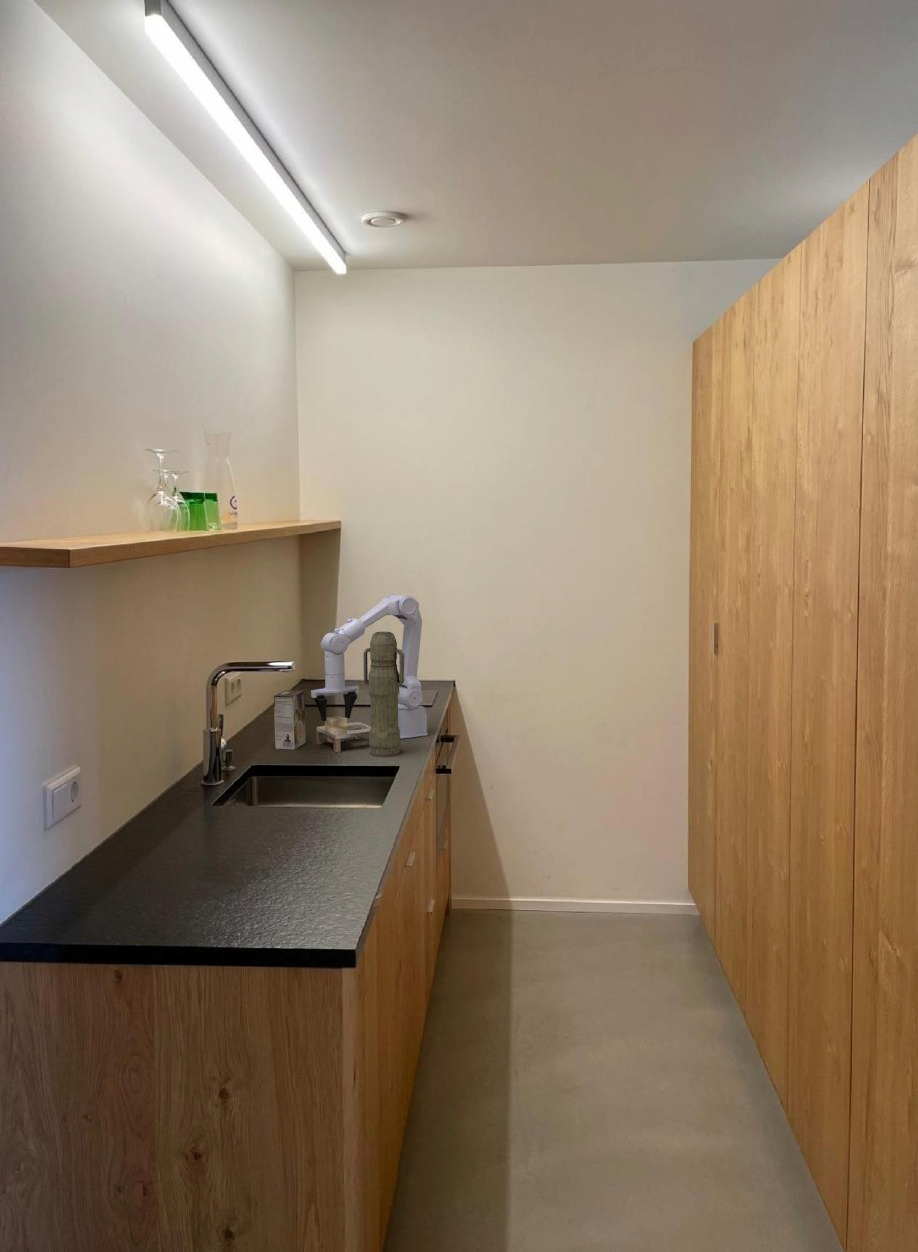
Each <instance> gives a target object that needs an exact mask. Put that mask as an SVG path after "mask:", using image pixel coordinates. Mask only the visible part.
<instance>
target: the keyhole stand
mask: <svg viewBox="0 0 918 1252" xmlns="http://www.w3.org/2000/svg"><path fill="white" fill-rule="evenodd" d="M370 729H371V725H368V724H365V723H363V722H360V721H354V722H347V731H339V732H329V731H327V730H325V725H322V726H316V743H317V744H318V745H323V744H322V743H324V741H325V739H324V735H326V736H327V737H328V736H330V737H332V738H333V740H334V742H333V752H334V753H336V752H337V753H341V752H342V750H341V742H340V738H345V739H347V738H354V739H355V738H361V739H362V736H369V732H370Z"/></svg>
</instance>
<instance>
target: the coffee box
mask: <svg viewBox="0 0 918 1252" xmlns="http://www.w3.org/2000/svg"><path fill="white" fill-rule="evenodd" d="M305 704H306V700H305V690H291V689H290V690H288V689H287V690H283V691H280V692H279V693H277V694H275V695H273V712H274V714H273V715H274V740H275V741H274V743H275V746H274V748H275V749H276V750H296V749H298V748H299V747H301V746H302V745H304V744H306V743H307V739H306V738H307V737H306V736H307V735H306V733H307V731H306V705H305Z"/></svg>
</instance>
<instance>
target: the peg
mask: <svg viewBox="0 0 918 1252" xmlns="http://www.w3.org/2000/svg"><path fill="white" fill-rule="evenodd" d="M326 717H327V716H326ZM347 723H348V718H346V717H345V716H344V717H343V716H341V715H337V716H328V717H327V718H326V721H324V726H325V730H327V731H329V732H339V731H347V730H348V729H347ZM345 739H346V738H340V743H342V742H345ZM327 742H329V743H334V740H333V738H332V737H330V736H328V735H327Z"/></svg>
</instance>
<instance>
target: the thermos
mask: <svg viewBox="0 0 918 1252" xmlns="http://www.w3.org/2000/svg"><path fill="white" fill-rule="evenodd" d="M369 644H370V645H369V647H367V648H365V650H364V652H363V683H364V685H367V686H368V694H369V698H370V726H371V729H370V732H369V735H368V745H369V755H370V754H371V756H373V757H378V758H390V757H394V756H395V757H396V756H398V755H400V753H401V749H400V746H401V738H400V729H399V727H398V695H399V692H400V689H399V686H401V685H402V684H403V683H404V653H403V652H402V649H399V648H398V643H397V639H396V636H395V633H393V632H391V631H376V632H374V633H372V636H371V638H370V643H369ZM368 654H369V656H370V665H369V666H370V669H369V670H368ZM398 657H399V662H398V663H399V670H398V664H397V660H398ZM368 671H369V672H368ZM399 673H400V681H399ZM389 756H390V757H389Z"/></svg>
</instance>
